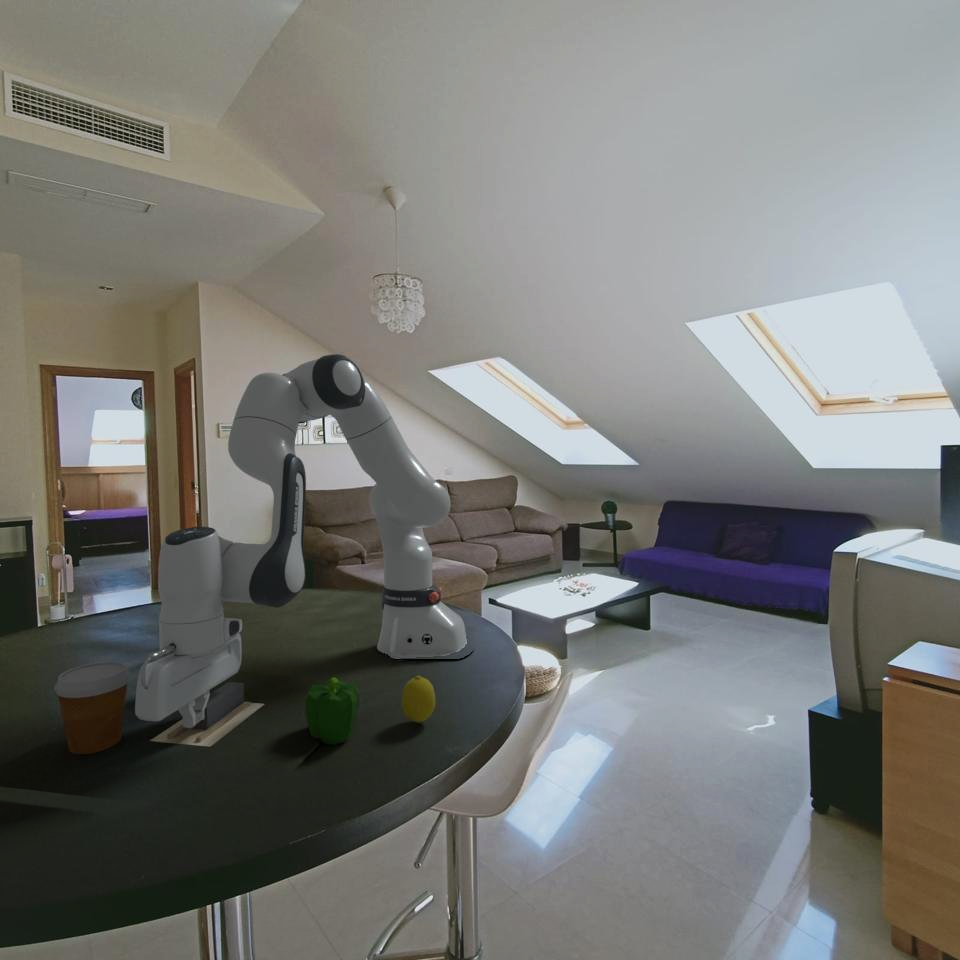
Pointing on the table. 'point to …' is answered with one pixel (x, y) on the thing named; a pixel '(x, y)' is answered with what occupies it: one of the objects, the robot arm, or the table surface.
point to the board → (213, 733)
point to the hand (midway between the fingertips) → (193, 723)
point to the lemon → (418, 699)
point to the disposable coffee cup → (93, 705)
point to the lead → (221, 704)
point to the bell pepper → (332, 711)
